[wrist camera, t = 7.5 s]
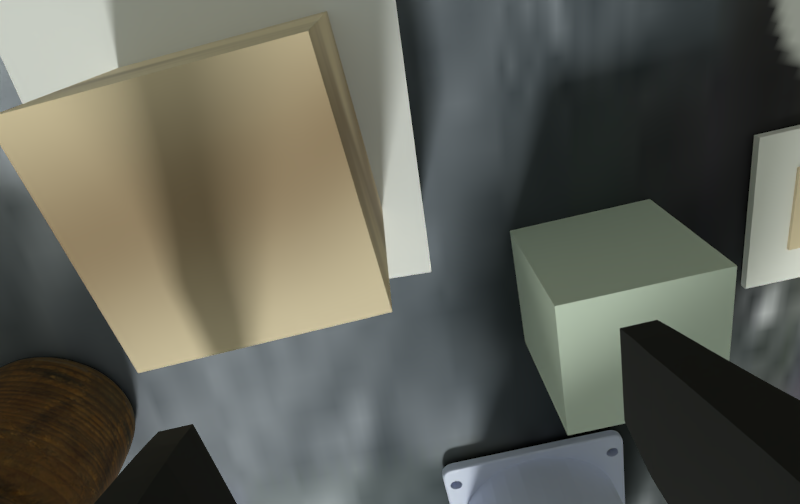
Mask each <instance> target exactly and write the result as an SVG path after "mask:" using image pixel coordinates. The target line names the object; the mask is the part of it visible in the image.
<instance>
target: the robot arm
mask: <svg viewBox="0 0 800 504" xmlns="http://www.w3.org/2000/svg"><path fill="white" fill-rule="evenodd" d="M620 345H621V364H622V384H623V403H624V421H625V423H626V425H627V427H628V429H629V431H630V434H631V436H632V438H633V440H634V442H635V444H636V446H637V448H638V451H639V453H640V455H641V457H642V459H643V461H644V463H645V465H646V467H647V469H648V471H649V473H650V475H651V477H652V479H653V480H654V482H655V484H656V485H657V487H658V489H659V490H660V492H661V493H662V495H663V497H664V498H665V500H666V501H667V503H668V504H800V400H798V399H796V398H794V397H792V396H791V395H789V394H787V393H785V392H783V391H781V390H780V389H778V388H776V387H774V386H772V385H770V384H769V383H767V382H765V381H763V380H761V379H760V378H758V377H756V376H754V375H753V374H751V373H749V372H747V371H745V370H744V369H742V368H740V367H738V366H737V365H735V364H733V363H731V362H730V361H728V360H726V359H725V358H723V357H721V356H719V355H718V354H716V353H714V352H712V351H711V350H709V349H707V348H706V347H704V346H702V345H700V344H699V343H697V342H695V341H694V340H692V339H690V338H688V337H687V336H685V335H683V334H682V333H680V332H678V331H676V330H675V329H673V328H671V327H669V326H668V325H666V324H664V323H662V322H661V321H659V320H654V321H650V322H645V323H641V324H636V325H632V326H627V327H623V328H620ZM611 448H612V449H611ZM442 475H443V480H444V484H445V488H446V491H447V495H448V499H449V503H450V504H625V486H624V458H623V440H622V438H621V436H620V434H619V433H618V432H617V431H615V430H606V431H602V432H597V433H592V434H588V435H583V436H578V437H573V438H569V439H564V440H559V441H555V442H550V443H545V444H540V445H536V446H531V447H526V448H521V449H517V450H512V451H507V452H503V453H498V454H493V455H488V456H484V457H479V458H474V459H470V460H465V461H460V462H455V463H451V464H448V465H447V466H445V467H444V468H443V470H442ZM455 481H457V482H455ZM94 504H237V503H236V502H235V500H234V498H233V496H232V494H231V493H230V491H229V489H228V487H227V485H226V483H225V482H224V480H223V478H222V476H221V474H220V473H219V471H218V469H217V467H216V465H215V463H214V462H213V460H212V458H211V456H210V454H209V452H208V451H207V449H206V447H205V445H204V443H203V442H202V440H201V438H200V436H199V434H198V432H197V431H196V429H195V427H194V425H193V424H191V425H187V426H182V427H178V428H174V429H169V430H165V431H160V432H158V433H157V434H156V435H155V436H154V437H153V438H152V439H151V440H150V441H149V442H148V443H147V444H146V445H145V446H144V447H143V448H142V450H141V451H140V452H139V453H138V454H137V455H136V456H135V457H134V458H133V460H132V461H131V462H130V463H129V464H128V465H127V466H126V467H125V469H124V470H123V471H122V472H121V473H120V474H119V475H118V477H117V478H116V479H115V480H114V481H113V482H112V483H111V485H110V486H109V487H108V488H107V489H106V490H105V491H104V493H103V494H102V495H101V496H100V497H99V498H98V500H97V501H96V502H95V503H94Z"/></svg>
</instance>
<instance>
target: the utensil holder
mask: <svg viewBox="0 0 800 504" xmlns="http://www.w3.org/2000/svg"><path fill="white" fill-rule="evenodd" d="M134 431H135V417H134V412H133V409H132V406H131V404H130V402H129V400H128V398H127V397H126V395H125V394H124V392H123V391H122V390H121V389H120V388H119V387H118V386H117V385H116V384H115V383H114V382H113V381H112V380H111V379H109V378H108V377H107V376H105V375H104V374H102V373H100V372H99V371H97V370H95V369H93V368H91V367H89V366H86V365H84V364H81V363H78V362H75V361H71V360H67V359H61V358H53V357H35V358H27V359H22V360H18V361H15V362H12V363H9V364H7V365H5V366H3V367H1V368H0V504H94V503H95V502H96V501H97V500H98V498H99V497H100V496H101V495H102V494H103V493H104V491H105V490H106V489H107V488H108V487H109V486H110V485H111V483H112V482H113V481H114V480H115V479H116V478H117V476H118V474H119V472H120V470H121V468H122V465H123V463H124V461H125V459H126V456H127V454H128V452H129V449H130V447H131V443H132V440H133V437H134Z"/></svg>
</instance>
